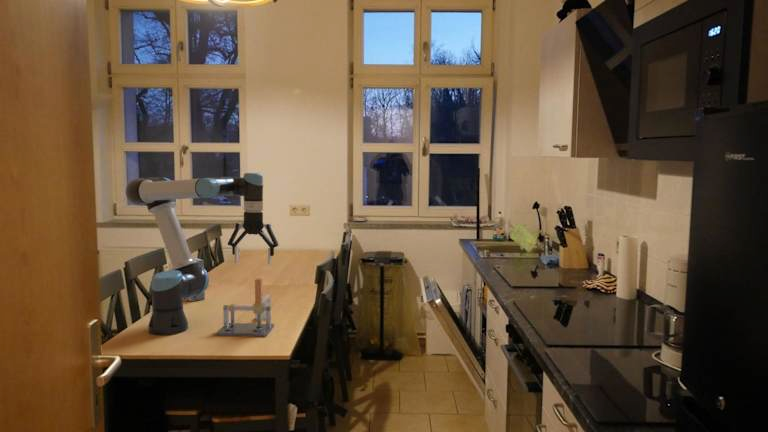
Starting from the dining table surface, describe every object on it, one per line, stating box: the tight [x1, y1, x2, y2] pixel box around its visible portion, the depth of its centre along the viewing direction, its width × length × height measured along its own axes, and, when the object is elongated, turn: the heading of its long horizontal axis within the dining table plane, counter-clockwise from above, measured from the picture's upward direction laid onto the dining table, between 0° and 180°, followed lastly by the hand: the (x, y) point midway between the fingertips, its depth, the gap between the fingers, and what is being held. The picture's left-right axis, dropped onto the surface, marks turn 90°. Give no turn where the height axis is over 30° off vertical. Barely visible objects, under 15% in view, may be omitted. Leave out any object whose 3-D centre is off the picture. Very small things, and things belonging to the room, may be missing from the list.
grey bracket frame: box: [223, 303, 272, 328], centre depth 224 cm, size 19×2×9 cm, turn 88°
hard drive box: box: [186, 257, 206, 302], centre depth 273 cm, size 16×8×20 cm, turn 47°
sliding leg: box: [252, 278, 265, 326], centre depth 223 cm, size 4×4×20 cm
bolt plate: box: [215, 322, 275, 338], centre depth 222 cm, size 20×13×1 cm, turn 88°
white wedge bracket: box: [254, 294, 272, 321], centre depth 241 cm, size 4×10×9 cm
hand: (253, 263), depth 222 cm, fingers open, 13 cm apart
